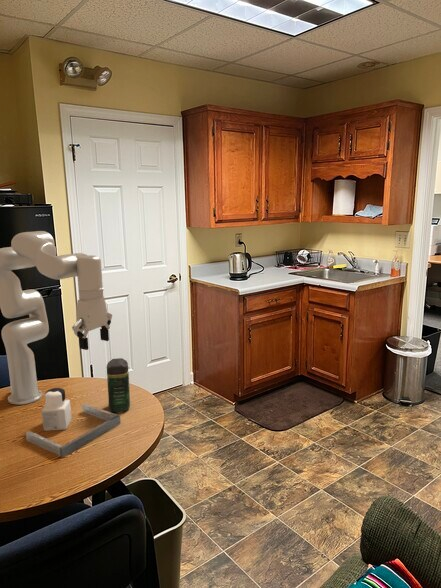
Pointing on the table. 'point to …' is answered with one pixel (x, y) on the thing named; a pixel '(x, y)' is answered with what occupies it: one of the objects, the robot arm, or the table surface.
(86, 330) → the robot arm
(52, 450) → the bracket
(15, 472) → the table surface
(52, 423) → the container
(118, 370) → the coffee jar
